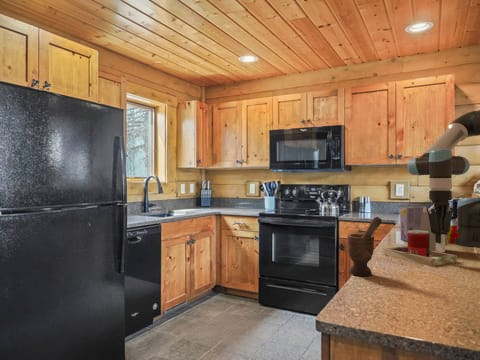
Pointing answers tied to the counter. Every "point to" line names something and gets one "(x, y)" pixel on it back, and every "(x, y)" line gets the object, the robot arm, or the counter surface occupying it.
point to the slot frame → (435, 259)
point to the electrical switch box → (426, 227)
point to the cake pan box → (410, 220)
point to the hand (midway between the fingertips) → (440, 251)
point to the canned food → (419, 242)
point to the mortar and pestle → (362, 249)
